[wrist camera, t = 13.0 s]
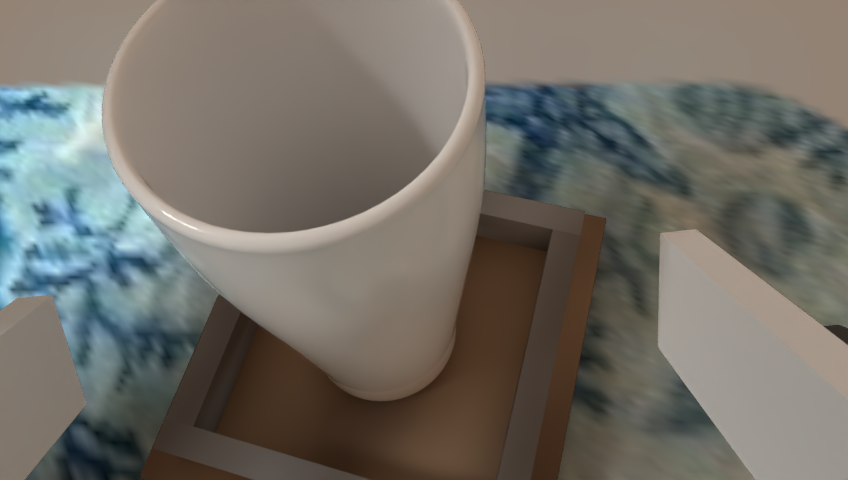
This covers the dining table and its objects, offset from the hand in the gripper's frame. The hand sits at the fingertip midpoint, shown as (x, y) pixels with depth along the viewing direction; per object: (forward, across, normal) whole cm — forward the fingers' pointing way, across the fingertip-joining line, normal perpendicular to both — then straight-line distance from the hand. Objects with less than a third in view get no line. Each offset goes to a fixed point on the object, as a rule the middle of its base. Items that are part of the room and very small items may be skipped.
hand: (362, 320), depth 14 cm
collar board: (+10, 0, -6) cm, 12 cm away
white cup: (+9, 0, -5) cm, 11 cm away
